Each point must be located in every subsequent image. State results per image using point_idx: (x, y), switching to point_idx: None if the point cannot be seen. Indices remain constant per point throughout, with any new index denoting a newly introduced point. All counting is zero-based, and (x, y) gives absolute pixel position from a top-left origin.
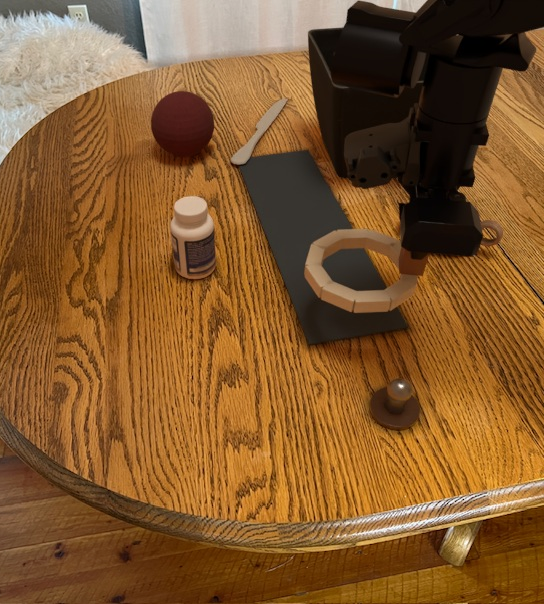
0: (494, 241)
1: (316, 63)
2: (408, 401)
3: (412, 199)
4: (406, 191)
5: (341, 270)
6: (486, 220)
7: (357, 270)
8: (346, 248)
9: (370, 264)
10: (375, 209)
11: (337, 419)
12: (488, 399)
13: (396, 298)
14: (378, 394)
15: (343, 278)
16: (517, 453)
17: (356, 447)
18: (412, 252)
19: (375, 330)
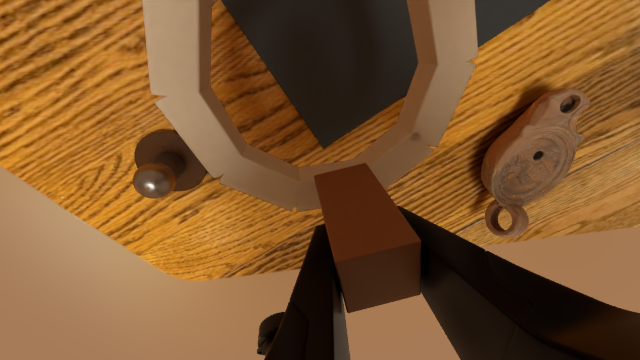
0: (490, 224)
1: None
2: (189, 176)
3: (511, 324)
4: (575, 351)
5: None
6: (527, 222)
7: None
8: (408, 7)
9: None
10: (597, 35)
11: (102, 93)
12: (251, 240)
13: (230, 187)
14: (177, 139)
15: (405, 19)
16: (198, 268)
17: (78, 131)
18: (308, 247)
19: (299, 106)
